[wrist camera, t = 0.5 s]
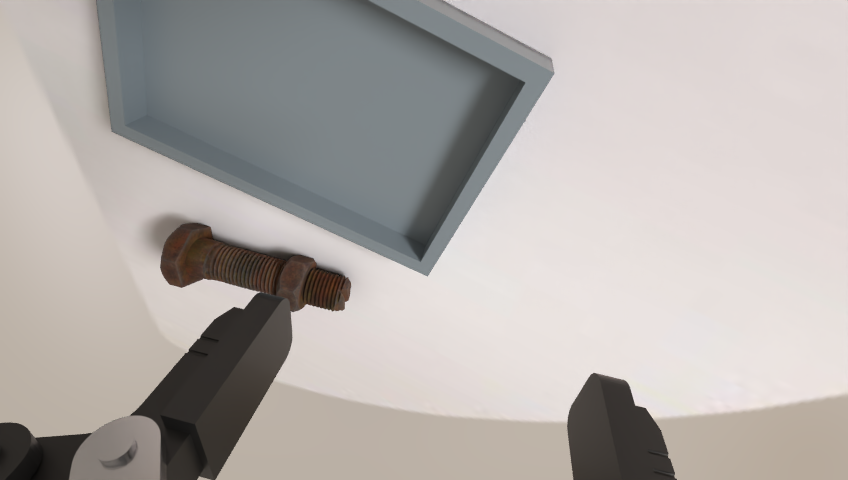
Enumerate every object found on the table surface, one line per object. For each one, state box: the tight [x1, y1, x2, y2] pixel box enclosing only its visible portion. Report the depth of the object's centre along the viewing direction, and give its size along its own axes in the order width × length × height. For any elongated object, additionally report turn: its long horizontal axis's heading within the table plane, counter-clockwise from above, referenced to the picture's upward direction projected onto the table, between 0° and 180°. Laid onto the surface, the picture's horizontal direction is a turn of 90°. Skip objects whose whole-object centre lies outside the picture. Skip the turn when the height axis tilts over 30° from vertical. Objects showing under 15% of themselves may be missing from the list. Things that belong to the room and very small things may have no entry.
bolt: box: [160, 223, 351, 312], centre depth 35 cm, size 6×5×15 cm
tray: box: [96, 0, 554, 276], centre depth 25 cm, size 16×24×3 cm, turn 67°
